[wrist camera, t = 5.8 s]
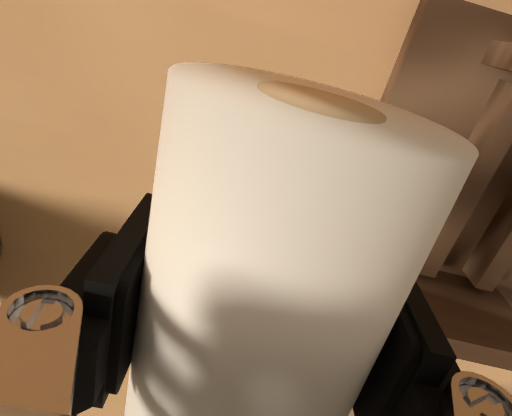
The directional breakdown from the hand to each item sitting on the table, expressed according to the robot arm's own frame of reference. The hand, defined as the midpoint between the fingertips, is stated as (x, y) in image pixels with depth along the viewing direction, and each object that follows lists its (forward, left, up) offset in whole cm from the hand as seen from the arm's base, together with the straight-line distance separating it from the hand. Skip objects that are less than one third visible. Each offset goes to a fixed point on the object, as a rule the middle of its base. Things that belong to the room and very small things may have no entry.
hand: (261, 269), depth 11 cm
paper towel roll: (0, 0, +2) cm, 2 cm away
